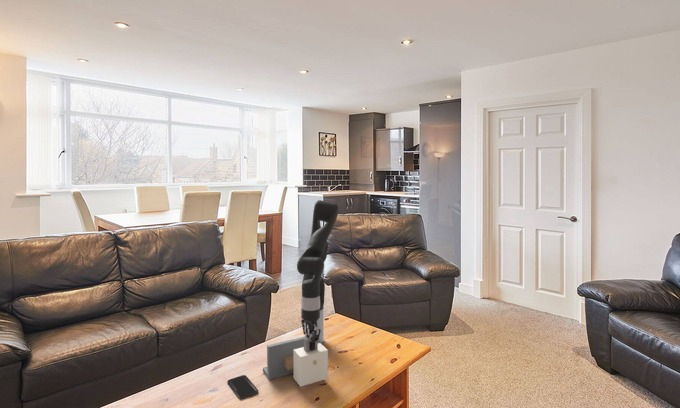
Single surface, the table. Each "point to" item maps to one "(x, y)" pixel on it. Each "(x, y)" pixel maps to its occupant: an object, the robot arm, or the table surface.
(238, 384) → the phone
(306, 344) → the cabinet
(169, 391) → the table surface
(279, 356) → the wall board
